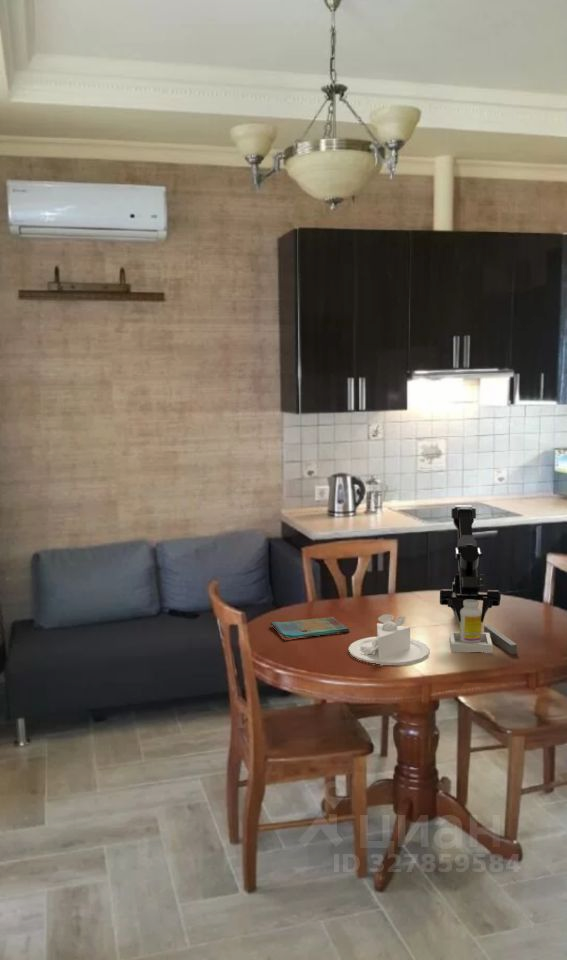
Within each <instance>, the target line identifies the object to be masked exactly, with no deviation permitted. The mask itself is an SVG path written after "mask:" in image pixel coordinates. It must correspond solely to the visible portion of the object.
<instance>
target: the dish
mask: <svg viewBox="0 0 567 960" xmlns="http://www.w3.org/2000/svg"><path fill="white" fill-rule="evenodd" d="M393 619H394V615H392V614H389V613H385V614H382V615H380V616H379V617H378V618H377V620H378V621H379V622H380V623H379V622H377V623H376V636H369V637H365V638H361V639H358V640H355V641H354V642H352V643H350V645H349V647H348V653H349V652H350V653H349V655H350V654H351V655H352V656H353V657H355V658H357V659H359V660H363V661H366V662H370V663H376V664H380V665H379V666H383V665H396V667H397V665H399V666H406V665H407V666H409V665H412V664H415V663H419V662H423V661H424V660H426V659H427V658H428V657H429V655H430V648H429V646H428V645H427V644H426V643H424V642H422V641H421V640H417V639H413V638H411V626H404V625H403V624H404V623H405V621H406V620H405V619H406V617H405V616H399V617H397V618H396V619H395V622H394V621H392V620H393ZM351 655H350V656H351ZM352 656H351V657H352ZM353 657H352V658H353ZM355 658H354V659H355ZM357 659H356V660H357ZM359 660H358V661H359ZM405 664H406V665H405Z"/></svg>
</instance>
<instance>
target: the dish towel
mask: <svg viewBox="0 0 567 960" xmlns="http://www.w3.org/2000/svg"><path fill="white" fill-rule="evenodd" d="M271 625H273V627H274V628H275V629H276V630H277V631H278V632H279V633H280V634H282V635H283V636H284V637H285V638H294V637H296V638H297V637H310V638H312V637H311V636H317V637H321V636H320V635H326V636H329V635H328V634H334V635H338V634H337V633H341V634H347V633H346V632H349V633H350V632H351V630H350V628H349V627H347V626H346V625H344V624H343V623H341V622H340V621H339V620H338V619H336V618H335V617H334V616H329V617H323V618H322V617H321V618H311V619H299V620H293V621H282V622H281V621H273V622H272V621H271V622H270V626H271ZM300 630H301V631H303V630H307V632H301V631H300Z"/></svg>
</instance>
